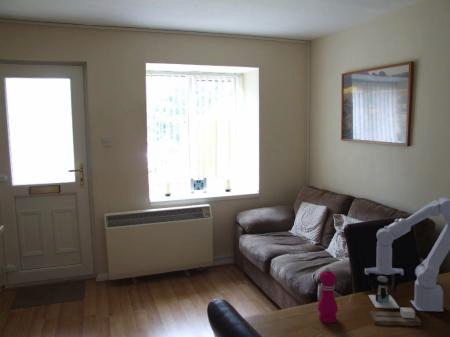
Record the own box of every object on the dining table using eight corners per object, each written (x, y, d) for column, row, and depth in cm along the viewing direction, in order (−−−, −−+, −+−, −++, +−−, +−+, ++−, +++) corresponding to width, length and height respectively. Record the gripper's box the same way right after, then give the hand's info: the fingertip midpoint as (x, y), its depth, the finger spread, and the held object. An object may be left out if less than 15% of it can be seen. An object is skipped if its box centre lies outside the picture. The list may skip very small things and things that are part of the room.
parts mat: (390, 296, 158) (390, 295, 158) (399, 308, 147) (399, 307, 147) (368, 295, 159) (368, 294, 159) (375, 307, 148) (375, 307, 148)
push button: (387, 297, 156) (387, 274, 156) (395, 303, 151) (395, 279, 150) (372, 299, 155) (373, 275, 154) (380, 305, 150) (381, 280, 149)
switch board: (413, 316, 141) (413, 312, 141) (421, 325, 134) (421, 321, 134) (369, 315, 143) (369, 310, 143) (374, 324, 136) (374, 320, 136)
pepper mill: (338, 315, 143) (338, 264, 141) (337, 325, 136) (337, 271, 134) (318, 313, 145) (318, 262, 143) (316, 322, 139) (316, 269, 137)
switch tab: (411, 314, 139) (411, 307, 139) (414, 318, 136) (414, 311, 136) (400, 313, 140) (400, 307, 139) (403, 317, 137) (403, 311, 136)
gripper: (368, 262, 148) (367, 295, 150) (406, 262, 147) (405, 296, 148) (363, 256, 155) (363, 287, 157) (400, 256, 154) (399, 288, 155)
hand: (383, 291), depth 153 cm, fingers open, 7 cm apart
